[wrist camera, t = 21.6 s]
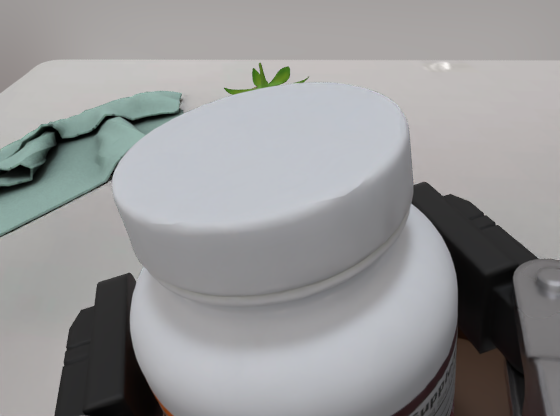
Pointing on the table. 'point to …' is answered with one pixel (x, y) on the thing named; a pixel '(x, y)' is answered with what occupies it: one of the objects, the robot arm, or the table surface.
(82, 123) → the cloth
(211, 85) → the table surface
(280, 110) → the pill bottle
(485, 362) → the tray
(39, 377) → the table surface
